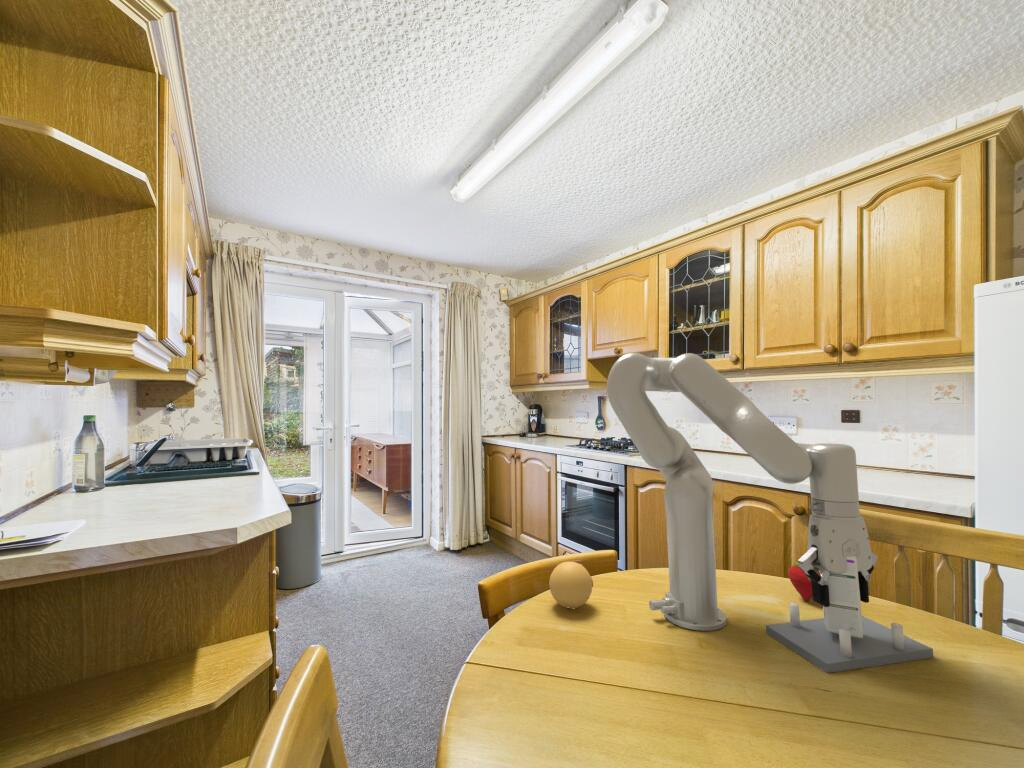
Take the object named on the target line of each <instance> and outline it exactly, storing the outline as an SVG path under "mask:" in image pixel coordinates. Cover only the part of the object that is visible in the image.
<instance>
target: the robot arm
mask: <svg viewBox="0 0 1024 768" xmlns="http://www.w3.org/2000/svg"><path fill="white" fill-rule="evenodd" d="M647 392H665V393H667V392H668V393H672V392H673V393H681V394H682V395H683V396H684V397H685V398H687V399H688V401H690V402H691V403H692V404H693V405H694V406H696V408H697V409H698V410H699V411H701V412H702V413H703V414H704V415H705V416H706V417H707V418H708V419H709V420H710V421H711V422H712V423H713V424H714V425H715V426H716V427H717V428H718V429H719V430H721V432H723V433H724V434H725V435H727V436H728V437H729V438H730V439H731V440H733V441H734V443H736V444H737V445H738V446H739V447H740V448H741V449H742V450H743V451H744V452H745V453H747V455H748V456H749V457H751V459H752V460H754V461H755V462H756V463H757V464H758V465H759V466H760V467H761V468H762V469H764V470H765V471H766V472H767V473H768V474H769V475H770V476H771V477H772V478H773V479H774V480H777V481H778V482H780V483H783V484H787V485H793V484H794V485H796V484H799V483H803V482H804V481H805V480H807V479H808V478H809V486H810V503H809V504H808V509H809V510H810V511H811V514H810V515H809V519H808V526H807V550H806V552H805V553H804V554H802V555H801V556H800V558H798V560H797V562H798V564H799V565H800V567H801V568H802V570H803V572H804V573H805V575H806V576H807V577H808V579H809V580H811V582H812V598H811V600H812V601H813V602H815V603H817V604H819V605H820V606H822V607H823V606H824V607H829V606H830V601H829V587H828V585H826V584H825V583H826V581H827V578H828V576H829V574H830V573H833V574H839V573H845V572H847V559H846V558H847V556H846V555H855V556H856V558H857V569H858V580H859V590H860V601H861V603H862V602H863V603H865V604H868V603H869V602H870V597H869V596H870V594H869V593H870V592H869V581H870V580H871V579H872V578H871V574H872V572H873V571H874V569H875V567H874V566H875V565H876V563H877V560H878V558H879V557H878V555H877V554H875V553H874V552H873V551H872V550H871V541H870V536H869V533H868V532H869V531H868V528H867V525H866V522H865V518H864V517H863V516H862V515H860V514H861V513H860V501H859V500H860V499H859V483H858V480H859V479H858V468H857V455H856V450H855V449H854V447H852V446H851V445H848V444H845V443H832V442H831V443H830V442H829V443H828V442H827V443H826V442H825V443H814V444H810V443H801V442H800V443H799V442H796V441H794V439H792V438H791V437H790V436H788V434H786V433H785V432H784V431H783V430H782V429H781V428H779V426H777V425H776V423H774V421H772V420H770V418H768V416H766V415H765V414H764V413H763V412H762V411H761V410H760V409H759V408H758V407H757V406H756V405H755V404H754V402H753V401H752V400H750V399H749V398H748V396H747V395H745V394H744V393H743V392H742V391H740V389H739V388H737V387H736V386H735V385H734V384H732V382H730V381H729V380H728V379H727V378H726V377H724V375H722V374H721V373H720V372H719V371H718V370H717V369H716V368H714V367H713V366H712V365H711V364H710V363H709V362H707V361H706V360H705V359H704V358H703V357H701V356H700V355H698V354H695V353H692V352H688V353H682V354H680V355H678V356H677V357H648V356H646V355H644V354H642V353H639V352H629V353H626V354H623V355H621V356H620V357H619V358H618V359H617V360H616V361H615V362H614V363H613V365H612V366H611V369H610V370H609V374H608V377H607V382H606V393H607V397H608V401H609V403H610V406H611V408H612V410H613V412H614V414H615V415H616V417H617V418H618V420H619V422H620V423H621V425H622V426H623V428H624V429H625V432H626V434H627V435H628V436H629V438H630V439H631V441H632V443H633V445H634V446H635V447H636V449H637V451H638V453H639V454H640V456H641V458H642V460H643V461H644V462H645V463H646V464H647V465H648V466H649V467H651V468H653V469H655V470H658V472H660V474H661V476H662V477H663V478H664V480H665V481H666V483H665V486H664V490H663V504H664V512H665V519H666V521H665V523H666V539H667V540H666V541H667V557H668V558H667V559H668V577H669V578H668V579H669V582H668V583H669V592H665V595H664V596H665V597H662V599H653V600H652V599H651V600H649V602H648V607H649V609H650V610H651V611H660V612H661V613H662V614H663V616H664V617H665V619H666V618H667V619H666V620H667V621H669V622H670V623H671V624H673V625H676V626H679V627H681V628H684V629H687V630H693V631H703V632H707V631H710V632H711V631H716V630H720V629H723V628H724V627H725V626H726V624H727V615H726V613H725V612H724V611H723V610H722V609H720V608H719V607H718V590H717V589H718V587H717V571H716V569H717V568H716V567H717V566H716V548H715V547H716V546H715V534H714V531H715V530H714V518H713V494H714V481H713V478H712V477H711V474H710V473H709V472H708V470H707V468H706V467H705V465H704V464H703V462H702V461H701V460H700V458H699V457H698V455H697V454H696V452H695V450H694V449H693V448H692V446H691V445H690V444H689V442H688V441H687V439H686V438H685V437H684V435H683V434H682V433H681V432H680V431H678V430H677V429H676V428H673V427H671V426H669V425H668V424H667V423H666V421H665V420H664V419H663V417H662V416H661V414H660V413H659V411H658V409H657V407H656V406H655V405H654V404H653V402H652V401H651V400H650V398H649V396H648V394H647ZM820 563H821V566H820ZM811 565H812V567H811ZM820 570H822V572H820ZM818 572H819V573H820V576H819V575H818Z"/></svg>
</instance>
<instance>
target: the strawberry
mask: <svg viewBox="0 0 1024 768" xmlns="http://www.w3.org/2000/svg"><path fill="white" fill-rule="evenodd" d="M793 563H794V564H793V565H792V566H790V567H789V568H788V573H787V575H788V577H789V580H790V582H791V584H792V586H793V587H794V588H795V590H796V592H797V594H799V595H800V596H801V598H802V600H804V601H806V602H808V601H811V600H812V582H811V580H809V579H808V577H807V576H806V575H805V573H804V572H803V570H802V568H801V567H800V565H799V564H798V561H793ZM811 567H812V565H811ZM820 574H821V572H820V571H819V572H818V575H819V576H820Z"/></svg>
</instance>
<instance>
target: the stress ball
mask: <svg viewBox="0 0 1024 768" xmlns="http://www.w3.org/2000/svg"><path fill="white" fill-rule="evenodd" d="M548 582H549V584H548V585H549V591H550V594H551V596H552V597H553V599H554V601H555V602H556V603H558V604H559V605H560V606H562V607H563V608H566V607H569V608H576V607H577V608H580V607H581V606H583V605H584V604H586V603H587V602H588V601H589V599H590V597H591V595H592V591H593V587H594V579H593V576H591V575H590V573H589V571H588V570H587V568H586V567H585V566H584V565H583V564H581V563H578V562H576V561H573V560H566V561H564V562H561V563H558V565H557V566H556V567H554V569H553V571H552V572H551V574H550V576H549V581H548ZM577 608H576V609H577Z"/></svg>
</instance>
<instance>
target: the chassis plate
mask: <svg viewBox="0 0 1024 768" xmlns="http://www.w3.org/2000/svg"><path fill="white" fill-rule="evenodd" d="M789 619H790V621H788V622H780V623H772V624H771V623H770V624H765V633H766V634H767V635H769V637H772V638H773V639H775V640H776V641H778V642H779V643H781V644H782V645H784V646H785V647H787V648H789V649H790V650H792V651H793V652H795V653H796V654H798V655H799V656H801V657H802V658H804V659H805V660H807V661H808V662H810V663H811V664H813V665H814V666H816V667H817V668H819V669H820V670H822V671H824V672H825V673H827V674H830V673H835V672H837V673H838V672H842V671H849V670H856V669H857V670H858V669H864V668H871V667H876V666H883V665H891V664H898V663H905V662H911V661H912V662H913V661H918V660H926V659H932V658H934V648H932V647H930V646H928V645H926V644H925V643H922V642H919V641H918V640H916V639H913V638H910V637H908V636H907V635H905V634H904V627H903V625H902V624H901V623H898V622H891V623H890V628H889V627H888V626H885V625H883V624H881V623H879V622H877V621H875V620H872V619H870V618H868V617H866V616H864V615H862V627H863V638H858V637H853V636H851V635H850V632H849V631H847V630H844V629H840V630H839V634H838V633H834V632H830V631H827V630H826V627H825V621H824V617H820V618H815V619H813V618H812V619H806V620H805V619H804V620H801V615H800V606H799V604H797V603H794V602H791V603H789Z"/></svg>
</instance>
